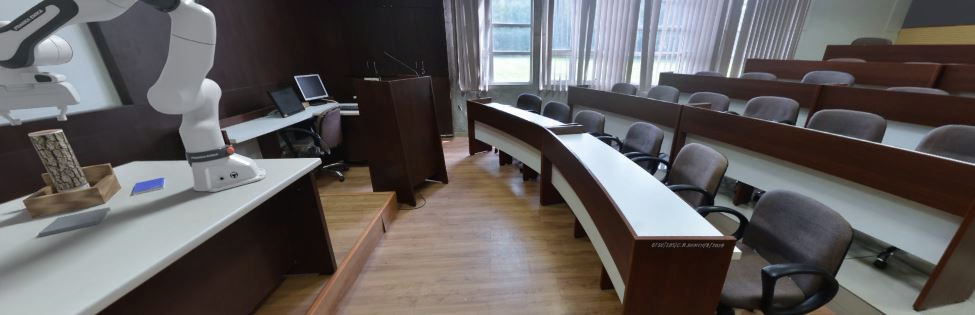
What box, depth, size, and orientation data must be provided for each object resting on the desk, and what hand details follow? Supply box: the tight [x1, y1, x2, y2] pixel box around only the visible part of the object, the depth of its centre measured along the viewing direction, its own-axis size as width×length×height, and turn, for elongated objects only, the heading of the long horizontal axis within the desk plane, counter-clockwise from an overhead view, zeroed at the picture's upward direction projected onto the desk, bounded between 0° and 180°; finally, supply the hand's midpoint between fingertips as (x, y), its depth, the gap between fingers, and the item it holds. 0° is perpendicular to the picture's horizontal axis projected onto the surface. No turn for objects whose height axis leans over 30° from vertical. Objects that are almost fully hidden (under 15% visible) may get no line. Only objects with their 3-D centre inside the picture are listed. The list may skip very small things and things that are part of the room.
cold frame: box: [22, 162, 122, 219], centre depth 110 cm, size 16×16×10 cm
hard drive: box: [132, 177, 166, 196], centre depth 122 cm, size 2×8×12 cm
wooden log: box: [28, 128, 90, 193], centre depth 108 cm, size 7×7×25 cm
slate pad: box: [38, 206, 111, 237], centre depth 98 cm, size 11×11×1 cm
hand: (40, 122), depth 103 cm, fingers open, 8 cm apart
